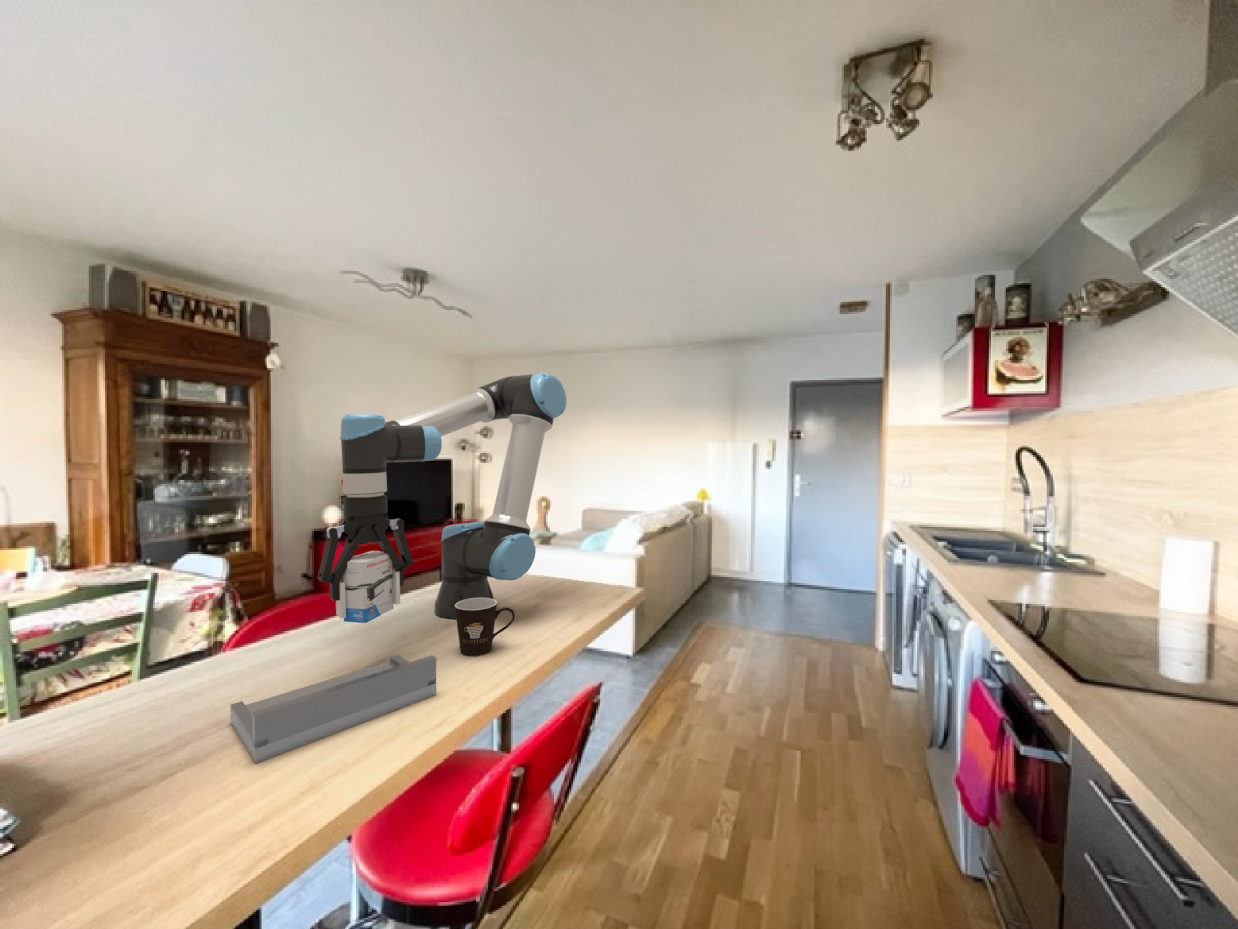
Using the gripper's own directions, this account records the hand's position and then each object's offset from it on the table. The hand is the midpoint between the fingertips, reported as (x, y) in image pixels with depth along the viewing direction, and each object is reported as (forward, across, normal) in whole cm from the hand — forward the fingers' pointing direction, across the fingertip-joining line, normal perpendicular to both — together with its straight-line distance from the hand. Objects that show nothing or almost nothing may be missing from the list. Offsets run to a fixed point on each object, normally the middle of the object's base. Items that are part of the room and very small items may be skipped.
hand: (369, 609), depth 97 cm
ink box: (+1, 0, 0) cm, 1 cm away
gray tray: (+11, +10, +12) cm, 19 cm away
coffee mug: (+12, -19, +9) cm, 24 cm away
